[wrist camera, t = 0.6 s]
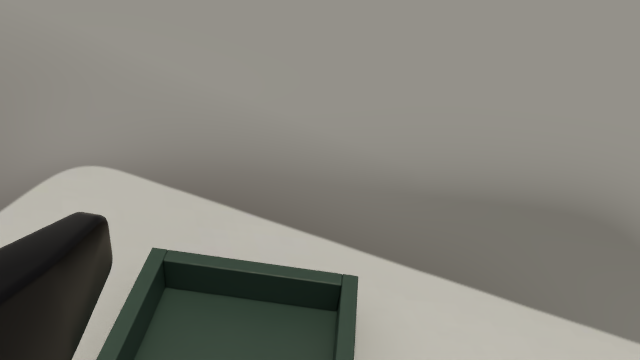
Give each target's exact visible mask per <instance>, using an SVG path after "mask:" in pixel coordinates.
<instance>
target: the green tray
mask: <svg viewBox="0 0 640 360" xmlns="http://www.w3.org/2000/svg"><path fill="white" fill-rule="evenodd" d="M357 290H358V276H352V275H345V274H343V275H342V274H337V273H330V272H323V271H316V270H308V269H301V268H294V267H287V266H280V265H273V264H265V263H258V262H251V261H244V260H237V259H229V258H222V257H215V256H208V255H201V254H194V253H186V252H179V251H172V250H166V249H159V248H152V250H151V252H150V254H149V256H148V258H147V260H146V262H145V264H144V266H143V268H142V270H141V272H140V274H139V276H138V278H137V280H136V282H135V284H134V286H133V288H132V290H131V292H130V294H129V296H128V298H127V300H126V302H125V304H124V306H123V308H122V310H121V312H120V314H119V316H118V318H117V320H116V322H115V324H114V326H113V328H112V330H111V332H110V333H109V335H108V337H107V339H106V341H105V343H104V345H103V347H102V349H101V351H100V353H99V355H98V357H97V359H96V360H354V346H355V327H356V308H357Z"/></svg>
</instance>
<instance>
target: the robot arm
mask: <svg viewBox="0 0 640 360" xmlns="http://www.w3.org/2000/svg"><path fill="white" fill-rule="evenodd" d="M111 266H112V250H111V242H110V235H109V227H108V222H107V220H106V218H105V217H103V216H102V215H97V214H91V213H84V212H77V213H74V214H72V215H69V216H67V217H65V218H63V219H61V220H59V221H57V222H55V223H53V224H51V225H48V226H46V227H44V228H42V229H40V230H38V231H36V232H34V233H32V234H30V235H27V236H25V237H23V238H21V239H19V240H17V241H15V242H13V243H11V244H8V245H6V246H4V247H2V248H0V360H72V358H73V355H74V353H75V351H76V349H77V347H78V345H79V342H80V340H81V338H82V335H83V333H84V331H85V329H86V326H87V324H88V322H89V319H90V317H91V315H92V312H93V310H94V308H95V305H96V303H97V301H98V298H99V296H100V294H101V292H102V289H103V287H104V285H105V282H106V280H107V278H108V275H109V273H110V270H111Z"/></svg>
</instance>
